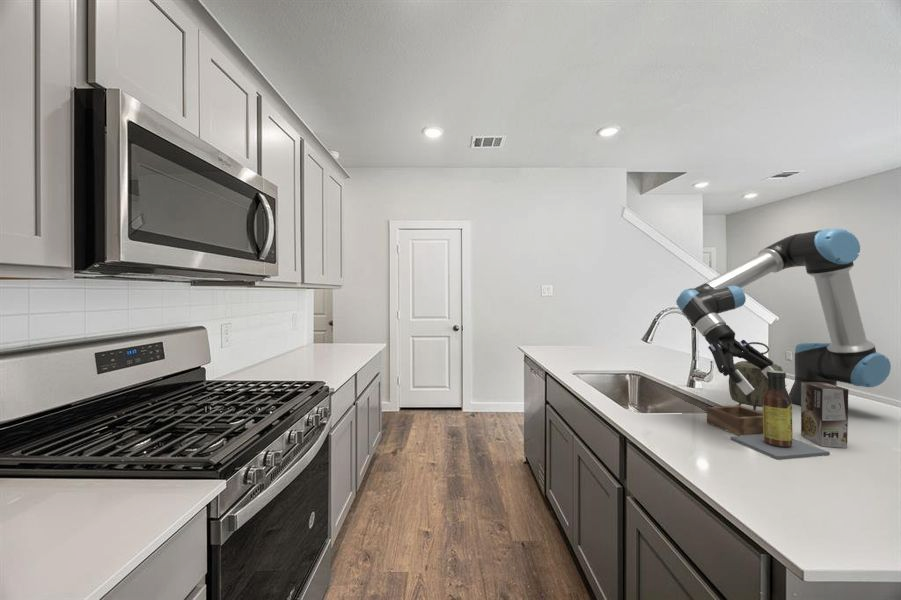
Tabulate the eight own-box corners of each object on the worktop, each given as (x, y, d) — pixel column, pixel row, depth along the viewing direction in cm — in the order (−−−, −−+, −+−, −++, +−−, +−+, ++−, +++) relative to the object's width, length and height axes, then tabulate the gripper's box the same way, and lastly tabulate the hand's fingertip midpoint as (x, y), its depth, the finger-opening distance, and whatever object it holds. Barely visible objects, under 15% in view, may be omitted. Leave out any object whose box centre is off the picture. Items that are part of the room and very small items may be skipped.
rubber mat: (777, 435, 118) (777, 433, 118) (829, 455, 104) (829, 451, 104) (730, 439, 115) (730, 436, 115) (777, 459, 101) (777, 456, 101)
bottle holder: (738, 420, 132) (739, 405, 132) (773, 433, 120) (774, 416, 120) (706, 422, 130) (706, 407, 130) (739, 435, 118) (739, 418, 118)
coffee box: (848, 448, 108) (850, 389, 108) (821, 446, 110) (822, 388, 109) (824, 436, 117) (825, 381, 117) (799, 434, 119) (800, 380, 118)
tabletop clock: (784, 416, 136) (785, 343, 135) (780, 422, 130) (781, 345, 129) (733, 407, 146) (734, 339, 146) (727, 412, 140) (727, 341, 140)
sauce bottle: (798, 449, 106) (798, 374, 106) (771, 447, 107) (771, 373, 107) (782, 439, 112) (783, 369, 112) (757, 438, 114) (757, 369, 113)
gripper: (734, 336, 132) (785, 392, 118) (678, 340, 124) (725, 401, 110) (751, 321, 127) (806, 378, 113) (694, 324, 118) (746, 386, 105)
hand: (766, 390), depth 112 cm, fingers open, 13 cm apart
